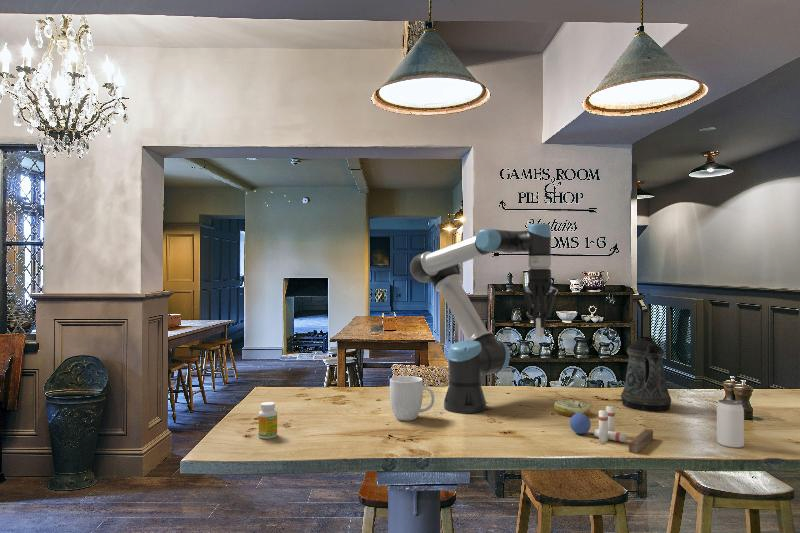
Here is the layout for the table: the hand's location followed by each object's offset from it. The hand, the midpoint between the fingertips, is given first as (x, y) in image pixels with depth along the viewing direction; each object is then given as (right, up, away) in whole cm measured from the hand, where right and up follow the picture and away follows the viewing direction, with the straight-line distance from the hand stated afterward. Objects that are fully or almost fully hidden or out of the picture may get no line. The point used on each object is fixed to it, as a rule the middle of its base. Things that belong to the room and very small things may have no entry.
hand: (539, 336), depth 178 cm
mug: (-45, -27, -6) cm, 53 cm away
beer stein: (+42, -27, +9) cm, 50 cm away
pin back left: (+14, -26, -24) cm, 38 cm away
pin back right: (+11, -26, -29) cm, 40 cm away
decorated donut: (+11, -27, +1) cm, 29 cm away
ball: (+6, -23, -22) cm, 33 cm away
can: (+45, -26, -32) cm, 61 cm away
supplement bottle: (-87, -26, -25) cm, 95 cm away
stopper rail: (+20, -26, -33) cm, 46 cm away
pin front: (+10, -25, -25) cm, 37 cm away
